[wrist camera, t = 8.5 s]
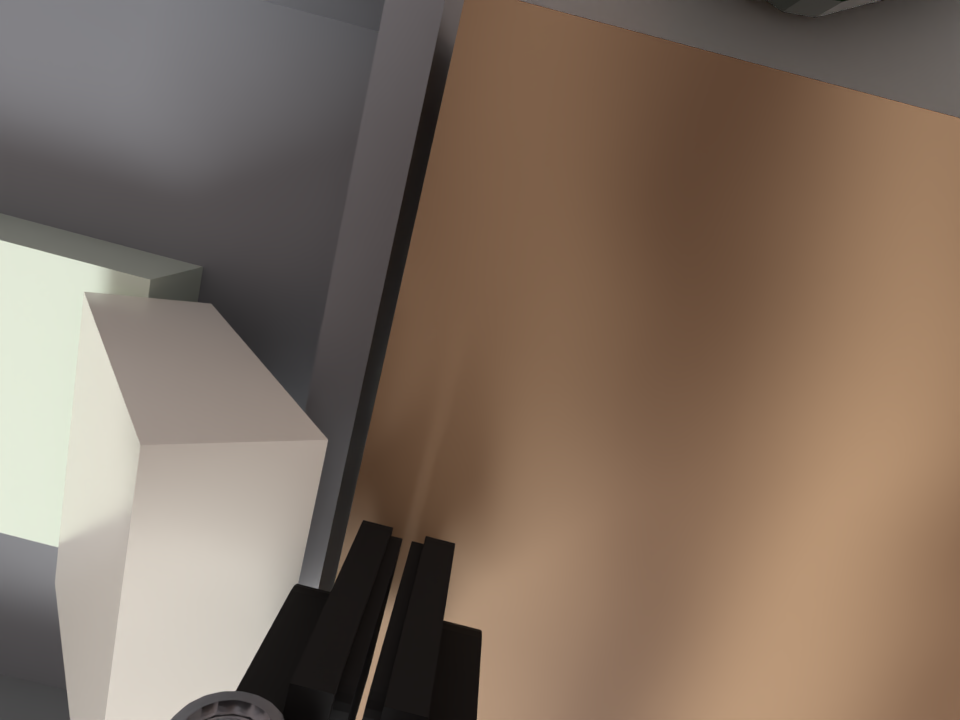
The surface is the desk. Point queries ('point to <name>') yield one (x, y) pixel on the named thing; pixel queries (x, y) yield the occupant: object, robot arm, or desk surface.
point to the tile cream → (175, 508)
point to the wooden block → (678, 383)
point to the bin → (228, 207)
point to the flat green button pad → (817, 6)
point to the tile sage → (56, 353)
